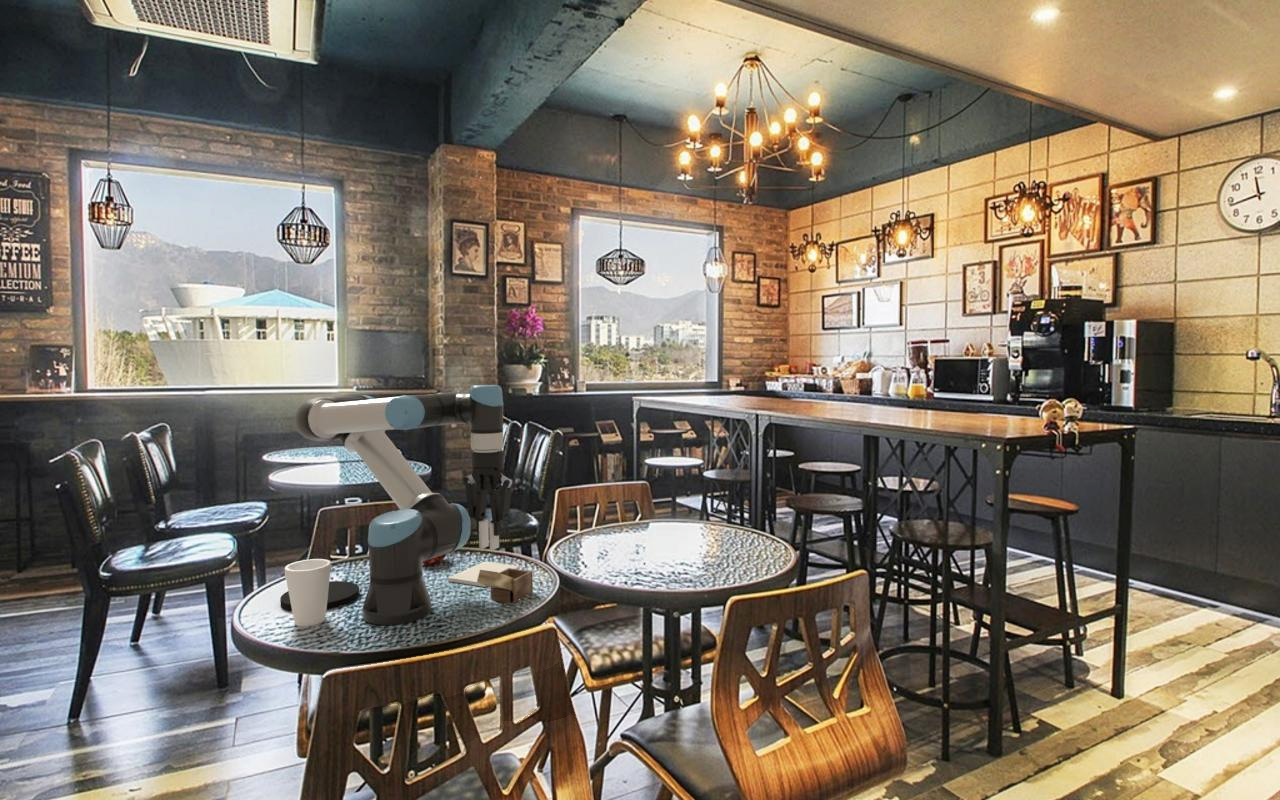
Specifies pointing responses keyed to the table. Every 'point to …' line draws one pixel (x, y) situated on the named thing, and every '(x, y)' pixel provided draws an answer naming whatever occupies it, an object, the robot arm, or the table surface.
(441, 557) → the dragon fruit
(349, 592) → the wireless charger
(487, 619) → the table surface
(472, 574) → the cream pad
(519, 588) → the box
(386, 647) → the table surface
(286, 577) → the foam cup
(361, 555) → the table surface
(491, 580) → the maple bar
